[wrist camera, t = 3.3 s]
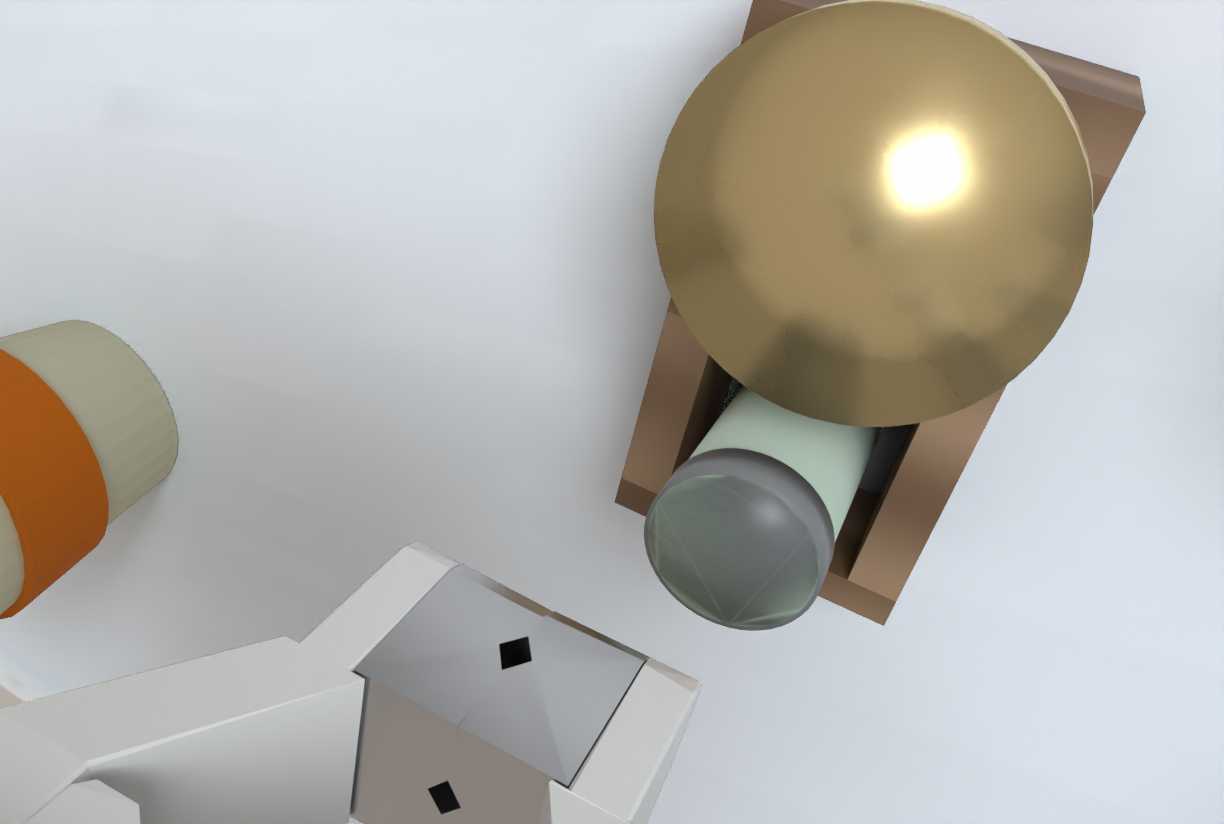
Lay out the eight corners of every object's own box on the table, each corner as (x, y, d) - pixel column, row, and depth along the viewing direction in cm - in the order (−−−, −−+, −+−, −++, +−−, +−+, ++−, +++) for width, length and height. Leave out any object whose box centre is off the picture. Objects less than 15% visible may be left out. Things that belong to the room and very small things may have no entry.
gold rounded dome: (999, 380, 27) (976, 487, 22) (698, 264, 29) (616, 338, 24) (1169, 43, 22) (1188, 86, 17) (792, -66, 24) (714, -55, 19)
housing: (910, 537, 33) (883, 625, 29) (670, 433, 36) (614, 502, 32) (1139, 76, 25) (1145, 112, 21) (807, -23, 27) (755, -8, 23)
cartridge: (866, 471, 33) (789, 659, 25) (740, 418, 34) (626, 581, 26) (917, 354, 31) (850, 521, 23) (779, 301, 32) (668, 441, 24)
